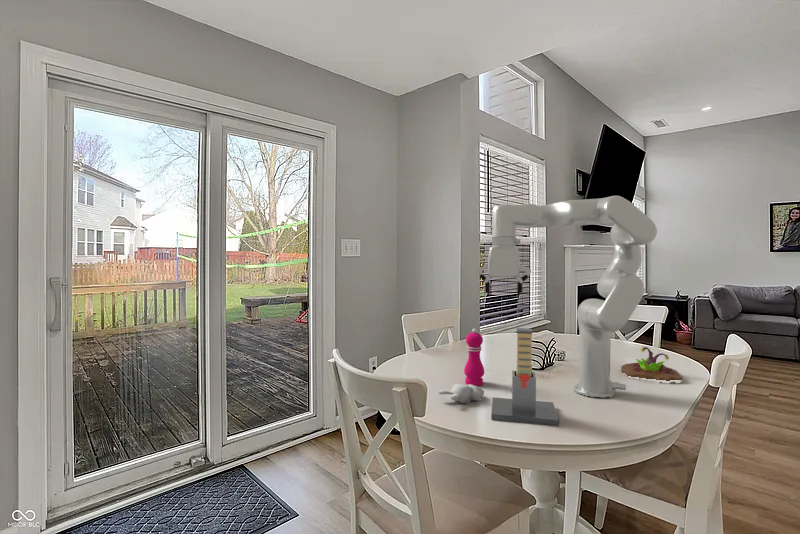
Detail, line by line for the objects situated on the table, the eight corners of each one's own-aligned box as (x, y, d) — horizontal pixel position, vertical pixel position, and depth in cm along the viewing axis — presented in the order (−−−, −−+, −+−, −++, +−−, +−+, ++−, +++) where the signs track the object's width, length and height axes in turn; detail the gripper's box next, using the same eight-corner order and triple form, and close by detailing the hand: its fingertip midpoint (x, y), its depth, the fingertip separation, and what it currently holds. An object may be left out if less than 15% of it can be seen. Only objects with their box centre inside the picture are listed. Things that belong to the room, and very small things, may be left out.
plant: (618, 367, 175) (618, 340, 175) (673, 372, 167) (674, 344, 167) (623, 380, 156) (624, 350, 156) (685, 387, 149) (686, 355, 149)
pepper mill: (484, 387, 148) (484, 330, 147) (463, 385, 149) (463, 329, 148) (484, 381, 155) (484, 326, 154) (464, 379, 156) (464, 326, 155)
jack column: (530, 384, 125) (531, 328, 124) (531, 389, 121) (532, 331, 120) (515, 383, 126) (516, 328, 125) (516, 388, 122) (517, 330, 121)
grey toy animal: (491, 387, 135) (456, 391, 126) (489, 403, 135) (455, 408, 126) (470, 380, 143) (436, 383, 134) (468, 395, 142) (434, 399, 134)
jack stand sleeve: (553, 407, 128) (553, 367, 128) (558, 425, 115) (559, 380, 114) (492, 402, 133) (492, 363, 132) (491, 419, 119) (491, 376, 119)
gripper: (530, 242, 139) (530, 294, 140) (477, 243, 144) (477, 293, 144) (532, 242, 132) (531, 296, 133) (476, 242, 136) (476, 295, 137)
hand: (503, 294), depth 139 cm, fingers open, 9 cm apart
